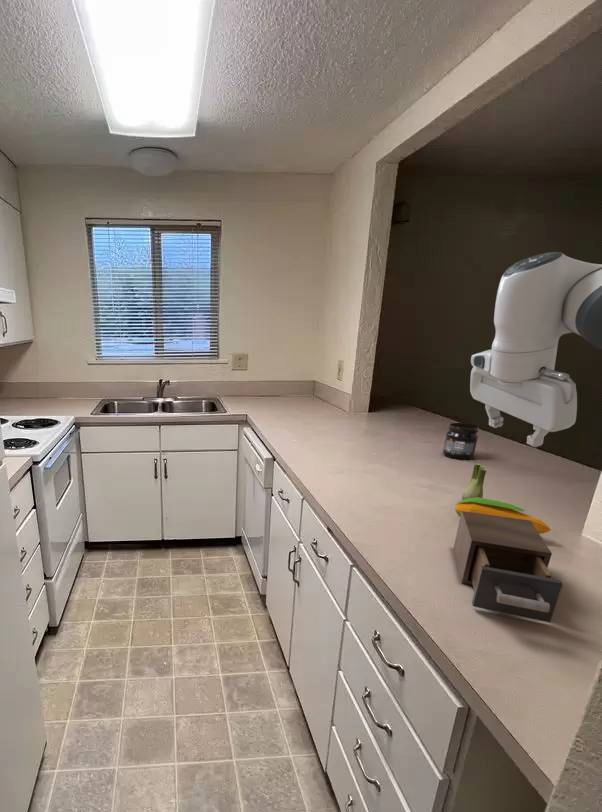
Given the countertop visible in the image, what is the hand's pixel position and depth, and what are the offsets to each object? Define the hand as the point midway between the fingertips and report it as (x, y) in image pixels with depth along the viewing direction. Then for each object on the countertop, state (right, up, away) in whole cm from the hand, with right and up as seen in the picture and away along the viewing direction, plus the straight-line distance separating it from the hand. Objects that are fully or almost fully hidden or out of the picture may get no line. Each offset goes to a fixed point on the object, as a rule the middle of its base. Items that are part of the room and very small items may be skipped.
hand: (514, 435), depth 79 cm
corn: (+18, -21, +30) cm, 41 cm away
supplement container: (+42, 0, +87) cm, 97 cm away
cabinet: (+4, -28, +12) cm, 31 cm away
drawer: (-1, -31, +2) cm, 31 cm away
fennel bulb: (+20, -16, +45) cm, 51 cm away
